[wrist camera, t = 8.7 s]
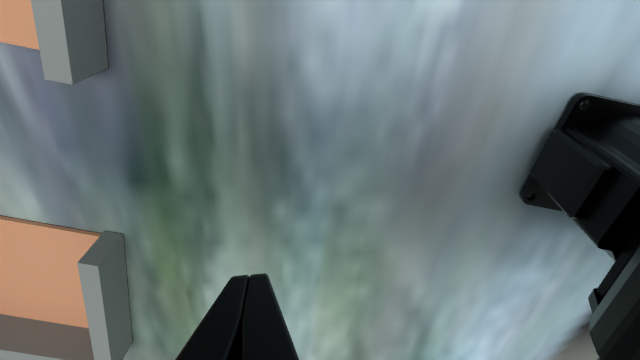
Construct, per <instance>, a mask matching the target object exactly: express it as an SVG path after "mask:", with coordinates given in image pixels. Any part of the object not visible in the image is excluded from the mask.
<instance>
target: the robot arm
mask: <svg viewBox="0 0 640 360" xmlns="http://www.w3.org/2000/svg"><path fill="white" fill-rule="evenodd" d="M585 100H586V104H585V105H584V106H582V107H580V104H581V103H582V102H583V101H585ZM531 193H533V195H532V196H530V197H527V196H528V195H529V194H531ZM519 195H520V198H521V199H522V201H523V202H524V203H526V204H529V205H534V206H539V207H544V208H549V209H554V210H559V211H563V212H564V213H565V214H566V215H567V216H568V217H570V218H572V219H573V220H574V221H575V223H576V224H577V225H578V226H579V227H580V228H581V229H582V230H583V231H584V233H585V234H586V235H587V236H588V237H589V238H590V239H591V240H592V241H593V243H594V244H595V245H596V246H597V247H598V248H600V249H603V250H605V251H606V252H607V253H608V255H609V256H610V257H611V258H612V259H613V260H614V261H615V263H614V264H613V266H612V267H611V269H610V270H609V272H608V273H607V275H606V276H605V278H604V279H603V281H602V282H601V284H600V285H599V287H598V288H595V289H593V291H592V292H591V294H590V295H589V297H588V299H589V303H590V306H591V310H592V313H593V314H592V316H591V317H590V329H589V333H590V336H591V338H592V341H593V344H594V346H595V348H596V351H597V354H598V355H599V357H598V358H597V360H640V105H639V104H634V103H629V102H625V101H620V100H616V99H611V98H607V97H602V96H597V95H593V94H588V93H581V94H578V95H576V96H575V97H574V98H573V99H572V100H571V102H570V104H569V106H568V107H567V109H566V111H565V113H564V115H563V116H562V118H561V120H560V122H559V123H558V125H557V127H556V129H555V131H554V132H552V134H551V135H550V137H549V139H548V141H547V143H546V144H545V146H544V148H543V150H542V152H541V153H540V155H539V157H538V159H537V161H536V162H535V164H534V166H533V168H532V169H531V174H530V175H529V177H528V179H527V181H526V183H525V184H524V186H523V188H522V190H521V191H520V194H519ZM175 360H299V358H298V355H297V353H296V350H295V347H294V345H293V342H292V339H291V337H290V334H289V331H288V328H287V326H286V323H285V320H284V318H283V315H282V312H281V310H280V307H279V304H278V301H277V299H276V296H275V293H274V291H273V288H272V285H271V283H270V280H269V277H268V275H267V274H265V273H264V274H253V275H251V276H250V277H249V276H248V275H242V276H233V277H232V278H231V279H230V280H229V281H228V283H227V284H226V286H225V287H224V289H223V290H222V292H221V293H220V295H219V296H218V298H217V299H216V301H215V302H214V304H213V305H212V306H211V308H210V309H209V311H208V312H207V314H206V315H205V317H204V318H203V320H202V321H201V323H200V324H199V326H198V327H197V329H196V330H195V331H194V333H193V334H192V336H191V337H190V339H189V340H188V342H187V343H186V345H185V346H184V348H183V349H182V351H181V352H180V354H179V355H178V356H177V358H176V359H175Z"/></svg>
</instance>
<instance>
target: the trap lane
mask: <svg viewBox="0 0 640 360" xmlns="http://www.w3.org/2000/svg"><path fill="white" fill-rule="evenodd" d="M0 42H4V43H9V44H13V45H18V46H23V47H28V48H33V49H38V50H40V56H41V61H42V67H43V73H44V78H45V79H47V80H52V81H57V82H62V83H67V84H72V85H73V84H75V83H77V82H79V81H81V80H84V79H86V78H88V77H90V76H92V75H94V74H96V73H98V72H101V71H103V70H105V69H107V68H108V57H107V45H106V34H105V23H104V11H103V0H0ZM132 341H133V340H132V328H131V317H130V306H129V294H128V283H127V272H126V260H125V249H124V238H123V234H120V233H114V232H108V231H104V232H103V233H102V234H100V233H95V232H89V231H83V230H78V229H72V228H66V227H61V226H55V225H50V224H44V223H38V222H33V221H27V220H21V219H16V218H10V217H5V216H0V359H2V360H123V358H124V356H125V354H126V353H127V351H128V349H129V347H130V345H131V343H132Z"/></svg>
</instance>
